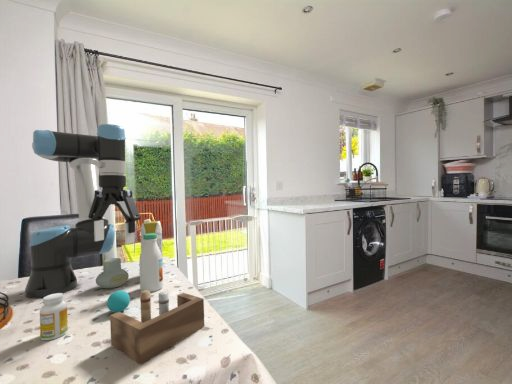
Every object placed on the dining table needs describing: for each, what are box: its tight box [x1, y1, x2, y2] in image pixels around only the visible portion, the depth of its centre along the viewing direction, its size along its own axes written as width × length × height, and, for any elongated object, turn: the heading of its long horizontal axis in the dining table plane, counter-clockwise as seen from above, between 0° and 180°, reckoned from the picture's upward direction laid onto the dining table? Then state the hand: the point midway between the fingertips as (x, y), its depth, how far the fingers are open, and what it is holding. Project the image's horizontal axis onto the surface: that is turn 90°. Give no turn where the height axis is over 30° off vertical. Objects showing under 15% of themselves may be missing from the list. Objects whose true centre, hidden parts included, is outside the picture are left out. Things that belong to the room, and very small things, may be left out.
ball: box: [106, 290, 131, 313], centre depth 76 cm, size 6×6×6 cm
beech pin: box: [139, 290, 152, 323], centre depth 68 cm, size 2×2×8 cm
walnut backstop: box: [109, 292, 205, 365], centre depth 62 cm, size 12×18×7 cm
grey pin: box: [158, 290, 170, 316], centre depth 67 cm, size 2×2×8 cm
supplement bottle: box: [39, 292, 69, 341], centre depth 64 cm, size 5×5×10 cm
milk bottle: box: [139, 233, 164, 293], centre depth 94 cm, size 8×8×20 cm
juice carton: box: [140, 218, 164, 268], centre depth 108 cm, size 9×8×24 cm
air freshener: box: [95, 257, 130, 289], centre depth 98 cm, size 11×8×10 cm
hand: (114, 242), depth 81 cm, fingers open, 13 cm apart
